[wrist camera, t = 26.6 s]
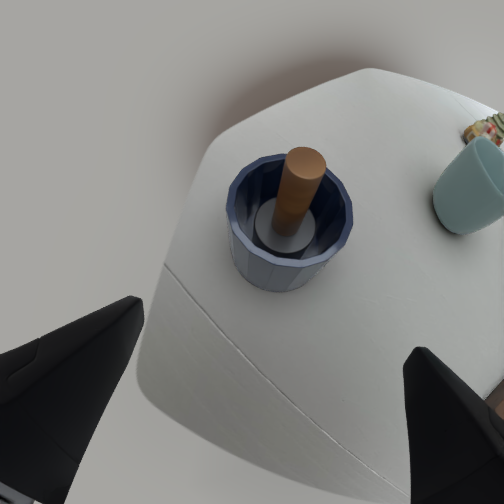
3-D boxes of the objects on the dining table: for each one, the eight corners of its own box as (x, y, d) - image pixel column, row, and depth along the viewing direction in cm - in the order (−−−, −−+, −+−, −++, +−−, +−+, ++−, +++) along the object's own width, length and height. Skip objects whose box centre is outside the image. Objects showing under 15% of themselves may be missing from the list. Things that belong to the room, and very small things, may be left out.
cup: (437, 247, 24) (500, 206, 14) (414, 184, 26) (461, 129, 17) (476, 239, 24) (530, 204, 15) (454, 184, 27) (498, 140, 17)
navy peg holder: (298, 308, 22) (324, 291, 14) (214, 263, 23) (201, 226, 15) (334, 231, 24) (367, 188, 17) (258, 192, 25) (264, 138, 18)
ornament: (481, 167, 29) (516, 131, 19) (457, 137, 30) (488, 97, 21) (492, 155, 30) (523, 123, 21) (471, 128, 32) (498, 94, 22)
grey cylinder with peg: (314, 252, 23) (366, 179, 12) (270, 279, 22) (296, 218, 11) (285, 211, 24) (312, 120, 13) (242, 235, 23) (242, 147, 12)
